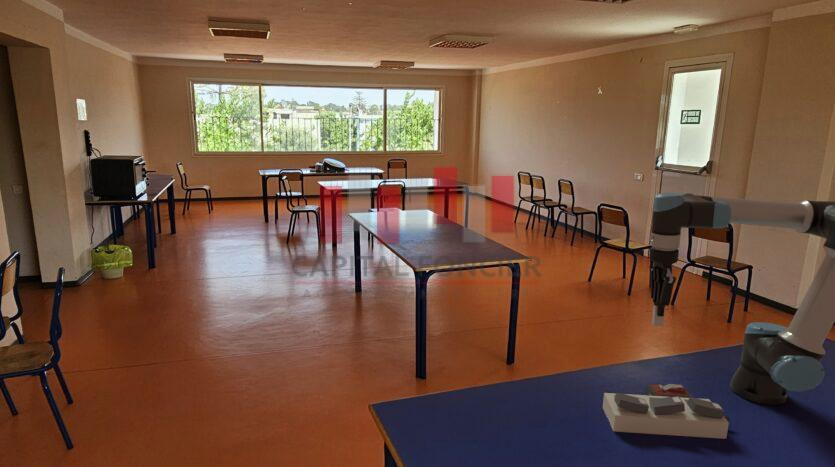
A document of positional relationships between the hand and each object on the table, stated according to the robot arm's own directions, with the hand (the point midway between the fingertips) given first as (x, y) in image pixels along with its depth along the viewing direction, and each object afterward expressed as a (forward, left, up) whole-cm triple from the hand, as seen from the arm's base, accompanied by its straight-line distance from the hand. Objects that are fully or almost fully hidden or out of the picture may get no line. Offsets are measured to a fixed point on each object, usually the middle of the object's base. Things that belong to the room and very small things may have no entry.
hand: (657, 324), depth 152 cm
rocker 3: (-11, +12, -20) cm, 26 cm away
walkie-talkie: (-11, -4, -26) cm, 29 cm away
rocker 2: (-1, +12, -20) cm, 23 cm away
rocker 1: (+9, +12, -20) cm, 25 cm away
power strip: (-2, +10, -26) cm, 28 cm away
